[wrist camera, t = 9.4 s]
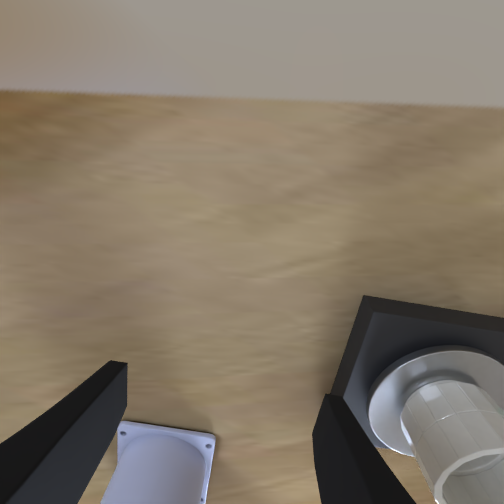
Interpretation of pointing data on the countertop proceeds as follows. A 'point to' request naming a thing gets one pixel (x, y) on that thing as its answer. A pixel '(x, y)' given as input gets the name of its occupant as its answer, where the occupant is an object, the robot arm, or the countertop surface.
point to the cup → (457, 441)
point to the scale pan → (422, 373)
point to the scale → (404, 344)
